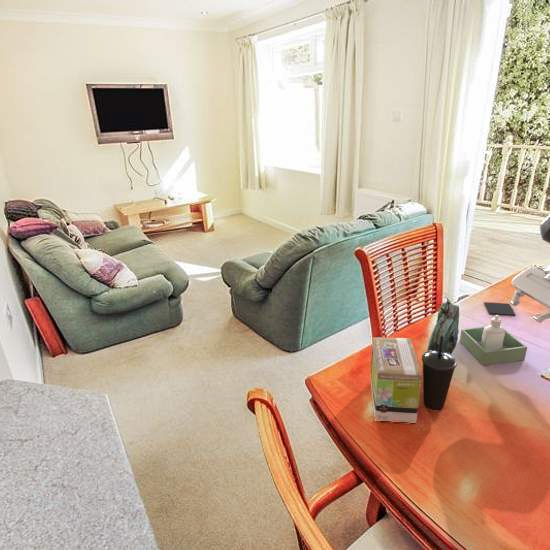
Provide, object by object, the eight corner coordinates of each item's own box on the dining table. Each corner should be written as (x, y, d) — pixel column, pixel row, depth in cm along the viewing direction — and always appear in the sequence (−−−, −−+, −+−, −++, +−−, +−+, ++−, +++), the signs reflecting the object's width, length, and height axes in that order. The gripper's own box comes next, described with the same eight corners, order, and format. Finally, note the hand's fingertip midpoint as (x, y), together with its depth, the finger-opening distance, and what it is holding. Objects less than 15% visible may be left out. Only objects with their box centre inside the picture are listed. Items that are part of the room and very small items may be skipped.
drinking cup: (443, 420, 89) (453, 350, 81) (412, 405, 94) (418, 339, 86) (454, 401, 94) (465, 334, 86) (424, 389, 99) (431, 324, 91)
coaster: (509, 304, 134) (509, 303, 134) (515, 316, 127) (515, 314, 127) (484, 303, 136) (484, 302, 136) (489, 314, 129) (489, 313, 129)
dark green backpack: (436, 346, 115) (443, 288, 107) (459, 352, 112) (468, 292, 103) (418, 384, 100) (425, 320, 92) (444, 393, 97) (453, 327, 89)
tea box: (418, 425, 88) (423, 374, 82) (374, 422, 90) (375, 373, 84) (407, 382, 102) (411, 336, 96) (369, 380, 103) (371, 335, 97)
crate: (496, 336, 117) (499, 324, 115) (524, 360, 106) (527, 347, 104) (459, 341, 116) (461, 329, 115) (483, 365, 105) (485, 352, 103)
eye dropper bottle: (501, 356, 108) (508, 321, 103) (479, 352, 111) (485, 317, 106) (501, 348, 112) (508, 313, 107) (479, 344, 114) (485, 310, 109)
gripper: (529, 256, 111) (493, 290, 114) (591, 285, 92) (546, 324, 95) (540, 268, 113) (504, 301, 116) (602, 299, 94) (558, 337, 98)
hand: (523, 312), depth 106 cm, fingers open, 8 cm apart
